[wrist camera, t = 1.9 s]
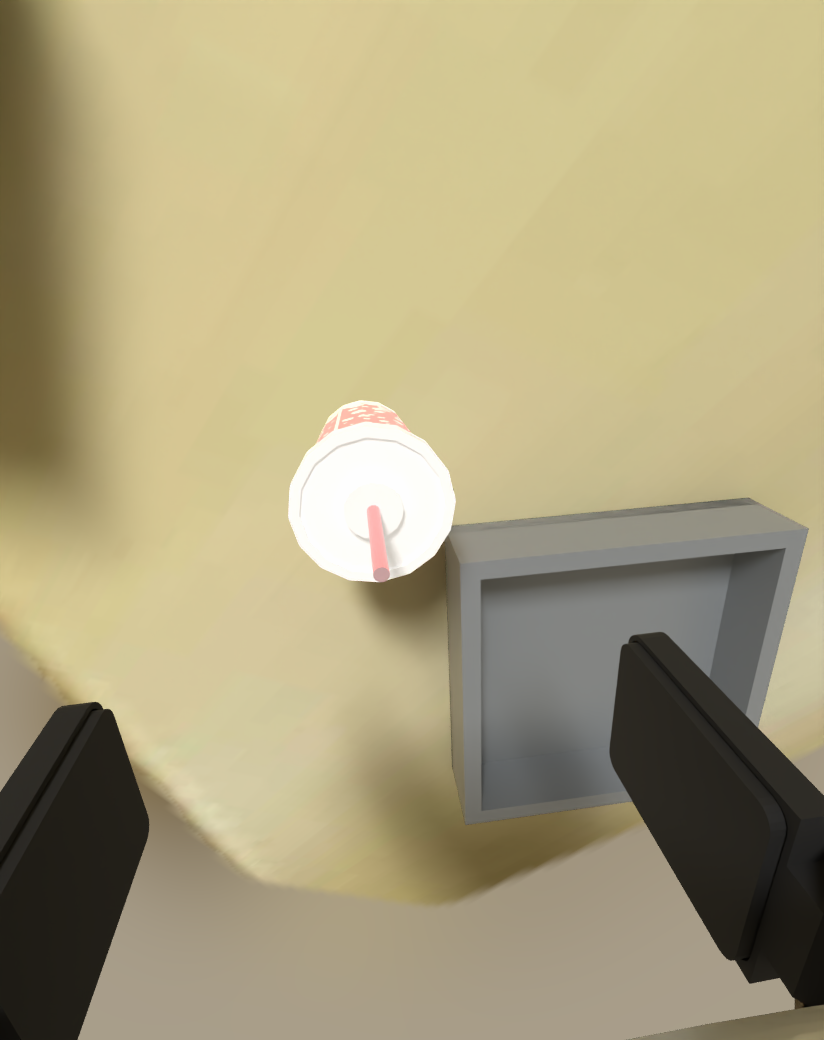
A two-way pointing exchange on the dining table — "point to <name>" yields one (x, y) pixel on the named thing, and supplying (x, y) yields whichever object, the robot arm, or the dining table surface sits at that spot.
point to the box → (598, 636)
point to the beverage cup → (370, 496)
